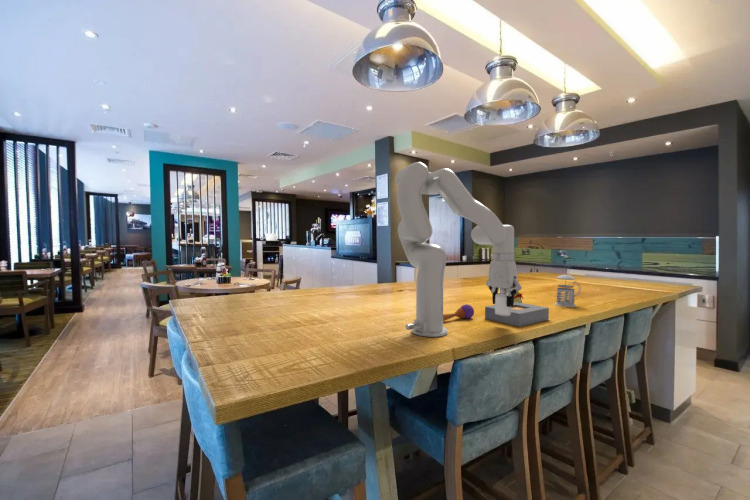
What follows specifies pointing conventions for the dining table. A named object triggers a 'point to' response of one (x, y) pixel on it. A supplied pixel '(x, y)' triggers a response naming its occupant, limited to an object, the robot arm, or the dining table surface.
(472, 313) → the purple maraca
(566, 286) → the french press
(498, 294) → the eye dropper bottle
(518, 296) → the chocolate bunny
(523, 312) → the box
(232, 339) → the dining table surface
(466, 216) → the robot arm
